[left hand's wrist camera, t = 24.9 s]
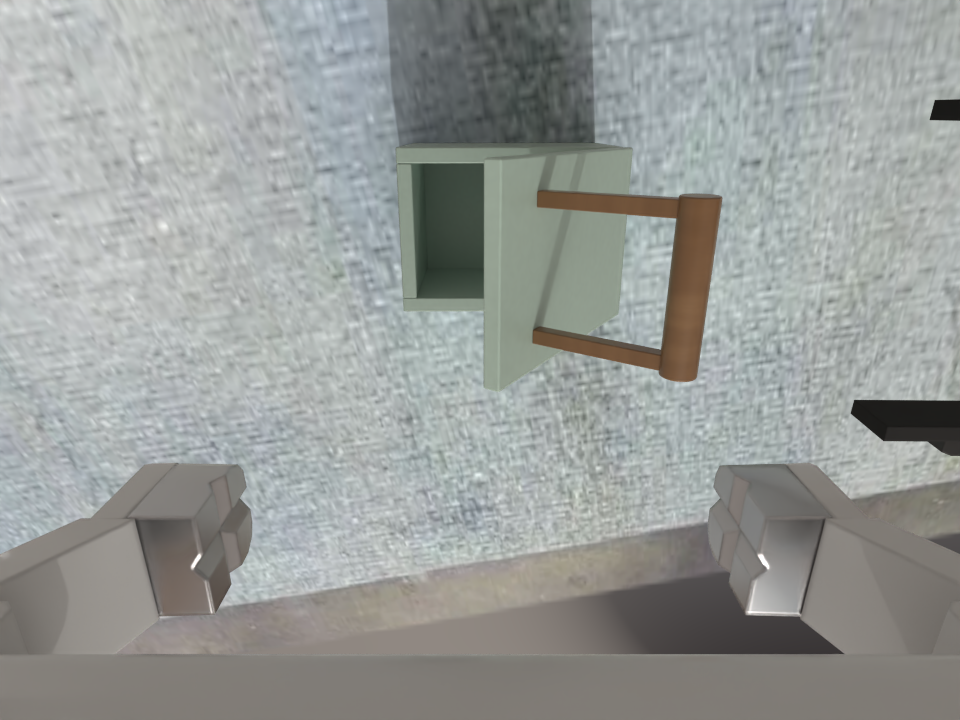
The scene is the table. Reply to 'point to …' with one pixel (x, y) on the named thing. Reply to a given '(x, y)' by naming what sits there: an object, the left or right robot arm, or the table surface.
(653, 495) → the table surface
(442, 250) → the chest
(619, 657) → the left robot arm
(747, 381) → the table surface
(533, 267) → the lid
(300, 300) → the table surface
